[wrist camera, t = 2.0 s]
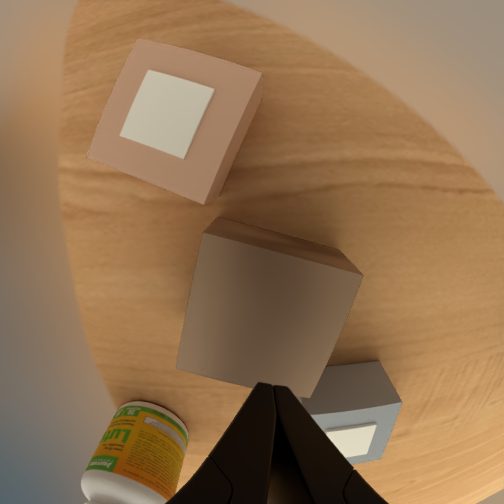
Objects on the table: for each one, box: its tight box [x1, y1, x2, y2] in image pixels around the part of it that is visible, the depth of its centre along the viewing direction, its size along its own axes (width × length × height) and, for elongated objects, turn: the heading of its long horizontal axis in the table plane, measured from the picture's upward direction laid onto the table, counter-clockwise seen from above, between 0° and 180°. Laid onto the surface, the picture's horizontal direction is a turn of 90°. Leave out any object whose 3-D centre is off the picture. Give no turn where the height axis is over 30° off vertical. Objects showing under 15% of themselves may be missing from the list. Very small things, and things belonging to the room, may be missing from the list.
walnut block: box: [176, 217, 364, 398], centre depth 13 cm, size 6×6×4 cm
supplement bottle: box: [81, 401, 189, 504], centre depth 13 cm, size 5×5×10 cm
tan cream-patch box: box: [86, 38, 262, 205], centre depth 11 cm, size 5×5×4 cm
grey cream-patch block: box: [296, 361, 402, 465], centre depth 15 cm, size 5×5×4 cm
